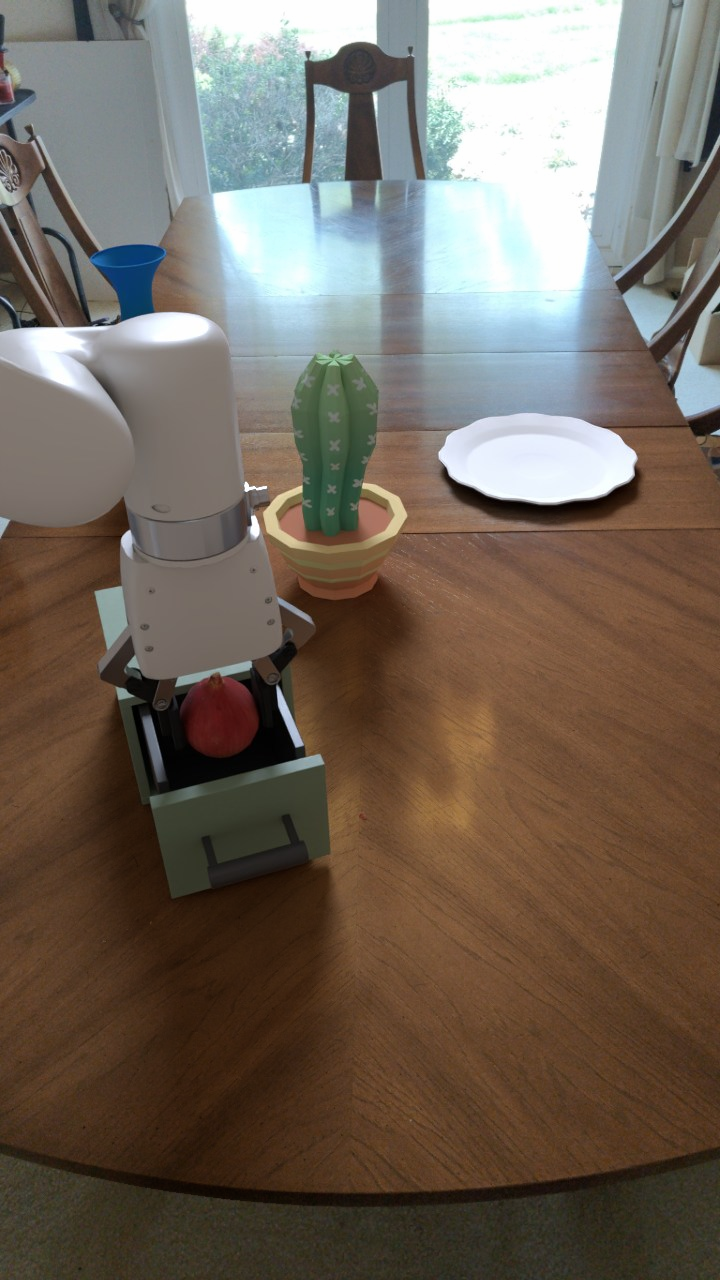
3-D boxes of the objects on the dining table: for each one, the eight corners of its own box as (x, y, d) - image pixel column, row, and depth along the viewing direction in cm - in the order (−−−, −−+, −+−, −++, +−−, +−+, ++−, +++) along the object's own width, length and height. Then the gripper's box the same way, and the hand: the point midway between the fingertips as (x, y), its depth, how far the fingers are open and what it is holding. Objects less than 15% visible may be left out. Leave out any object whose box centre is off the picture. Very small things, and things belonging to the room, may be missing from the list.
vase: (228, 462, 131) (202, 245, 114) (176, 505, 122) (140, 277, 105) (153, 446, 135) (117, 235, 118) (97, 487, 126) (50, 265, 109)
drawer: (348, 897, 73) (344, 807, 67) (183, 946, 70) (162, 856, 64) (281, 734, 87) (273, 647, 81) (141, 769, 84) (122, 681, 78)
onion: (175, 774, 73) (159, 693, 68) (203, 723, 78) (189, 643, 73) (249, 786, 72) (238, 705, 67) (272, 734, 77) (264, 653, 72)
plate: (418, 501, 122) (419, 487, 120) (462, 417, 140) (463, 404, 139) (625, 528, 115) (627, 514, 114) (642, 436, 134) (644, 423, 133)
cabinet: (299, 765, 86) (290, 660, 79) (142, 805, 82) (118, 700, 75) (255, 659, 98) (244, 560, 90) (117, 691, 94) (94, 591, 87)
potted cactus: (433, 564, 110) (438, 348, 95) (355, 634, 100) (347, 405, 85) (322, 527, 117) (310, 320, 102) (239, 589, 107) (213, 369, 92)
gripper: (303, 467, 67) (316, 671, 78) (45, 514, 63) (98, 722, 74) (336, 520, 62) (346, 731, 73) (56, 575, 57) (111, 790, 68)
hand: (220, 725), depth 73 cm, fingers closed on onion, 5 cm apart
